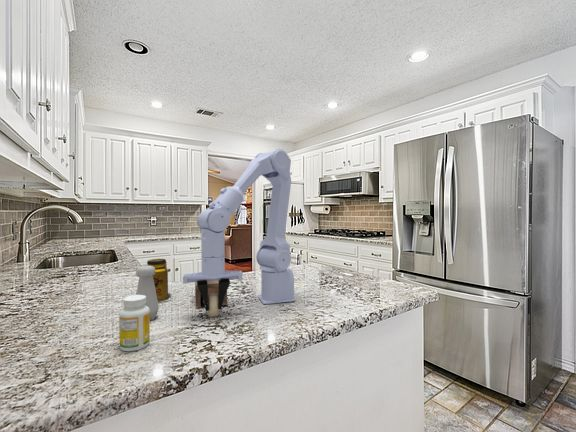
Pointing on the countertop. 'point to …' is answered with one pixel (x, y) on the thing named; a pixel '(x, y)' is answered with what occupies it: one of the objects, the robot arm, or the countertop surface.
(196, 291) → the panel
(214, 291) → the cord block
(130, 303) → the supplement bottle
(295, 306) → the countertop surface
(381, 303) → the countertop surface
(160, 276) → the condiment
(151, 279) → the salt shaker
